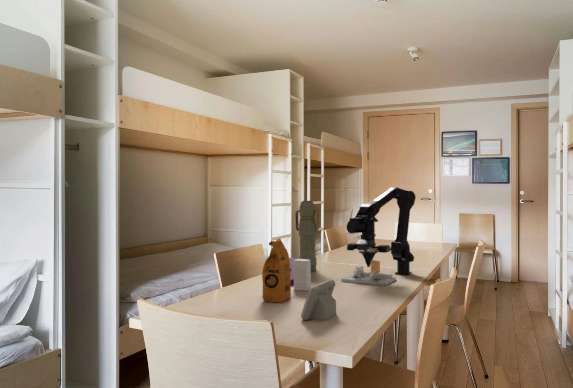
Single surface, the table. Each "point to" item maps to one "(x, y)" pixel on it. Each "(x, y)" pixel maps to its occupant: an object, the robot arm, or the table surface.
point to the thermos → (307, 231)
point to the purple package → (292, 269)
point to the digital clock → (320, 302)
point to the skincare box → (302, 274)
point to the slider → (374, 267)
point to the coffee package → (276, 274)
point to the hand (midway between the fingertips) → (368, 266)
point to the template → (365, 278)
